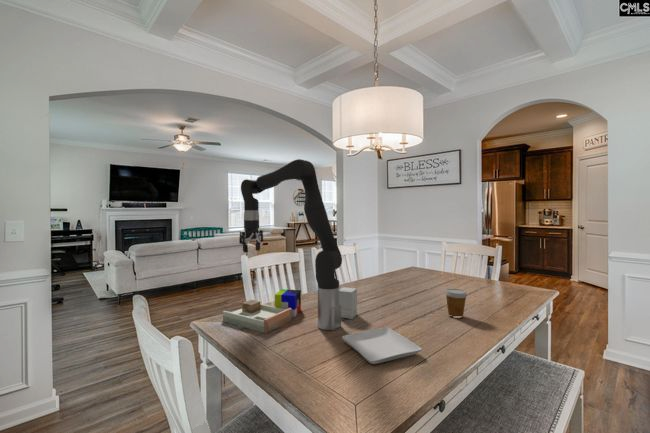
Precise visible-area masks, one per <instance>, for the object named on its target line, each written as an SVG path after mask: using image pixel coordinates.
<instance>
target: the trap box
mask: <svg viewBox="0 0 650 433" xmlns="http://www.w3.org/2000/svg"><path fill="white" fill-rule="evenodd" d="M292 320H293V318H292V308H288V309H282V308H278V307H275V306H272V305H268V304H263V303H260V310H259V311H256V312H254V313H247V312H243V311H242V308H240V309H237V310H234V311H227V310H223V311H222V322H225V323H228V324H232V325H235V326H239V327H242V328H244V329H250V330H253V331H257V332H260V333H262V334H267V333H270V332H272V331H273V330H276V329H277V328H280V327H282V326H283V325H286V324H287V323H289V322H291V321H292Z"/></svg>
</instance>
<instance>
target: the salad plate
mask: <svg viewBox="0 0 650 433" xmlns="http://www.w3.org/2000/svg"><path fill="white" fill-rule="evenodd" d="M341 337H342V340H343V341H344V342H345V343H346V344H347V345H348V346H350V347H351V348H353V349H354V350H355V351H356V352H358V354H360V356H362V357H363V358H364V359H365V360H366V361H367V362H368V363H369V364H371V365H376V364H377V365H378V364H382V363H384V362H390V361H394V360H397V359H401V358H406V357H410V356H414V355H416V354H419V353H420V352H421V351H422V347H420V346H419V345H418V344H416V343H414V342H412V341H411V340H409V339H408V338H407V337H405V336H403V335H401V334H399V333H398V332H396V331H395V330H393V329H391V328H390V327H388V326H386V327H380V328H374V329H370V330H364V331H360V332H355V333H350V334H346V335H342V336H341Z"/></svg>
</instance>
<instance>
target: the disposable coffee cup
mask: <svg viewBox="0 0 650 433" xmlns="http://www.w3.org/2000/svg"><path fill="white" fill-rule="evenodd" d="M445 296H446V298H445V299H446V305H447V312H448V313H447V314H449V315H452V316H463V317H464V311H465V305H466V299H467V296H468V294H467V291H465V290H464V289H460V288H447V289H446V291H445ZM449 315H448V316H449Z"/></svg>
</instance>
